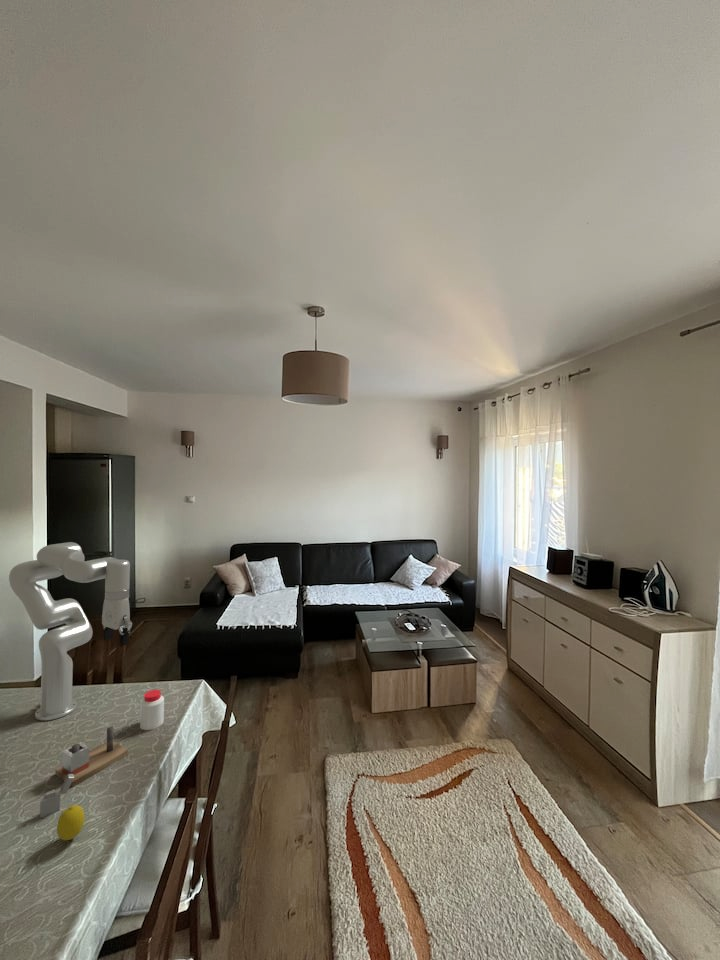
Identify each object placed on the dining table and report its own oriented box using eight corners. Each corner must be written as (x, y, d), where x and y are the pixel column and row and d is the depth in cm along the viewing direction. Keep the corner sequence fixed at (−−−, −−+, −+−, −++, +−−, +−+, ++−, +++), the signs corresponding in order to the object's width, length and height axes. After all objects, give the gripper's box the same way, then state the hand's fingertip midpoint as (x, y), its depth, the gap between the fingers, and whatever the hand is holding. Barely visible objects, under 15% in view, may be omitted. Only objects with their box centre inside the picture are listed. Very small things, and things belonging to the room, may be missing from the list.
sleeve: (61, 771, 118) (62, 750, 118) (80, 761, 123) (80, 741, 123) (70, 777, 116) (70, 756, 116) (88, 766, 120) (89, 747, 120)
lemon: (66, 829, 100) (66, 798, 100) (89, 828, 101) (89, 797, 101) (50, 850, 95) (51, 816, 95) (75, 848, 95) (76, 815, 95)
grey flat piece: (40, 818, 104) (40, 787, 104) (40, 814, 105) (40, 783, 105) (73, 804, 108) (74, 775, 108) (73, 800, 109) (73, 771, 110)
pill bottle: (153, 731, 140) (154, 700, 140) (134, 728, 142) (135, 697, 142) (168, 719, 148) (169, 689, 148) (150, 716, 149) (151, 686, 149)
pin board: (55, 774, 119) (56, 745, 119) (110, 744, 133) (111, 718, 133) (72, 787, 114) (73, 757, 114) (127, 754, 128) (128, 728, 128)
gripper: (93, 593, 144) (91, 640, 144) (120, 601, 136) (119, 651, 135) (114, 588, 151) (113, 633, 151) (141, 595, 142) (140, 643, 142)
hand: (116, 642), depth 143 cm, fingers open, 9 cm apart
